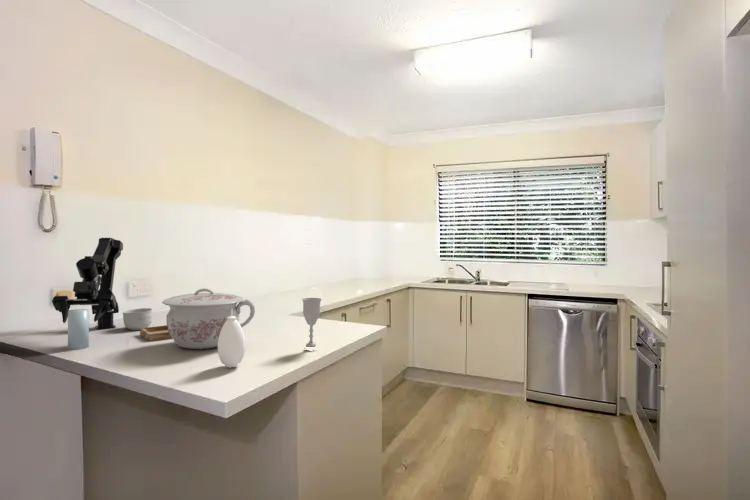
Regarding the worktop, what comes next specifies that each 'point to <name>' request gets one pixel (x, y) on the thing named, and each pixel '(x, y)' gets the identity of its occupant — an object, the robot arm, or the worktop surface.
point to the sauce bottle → (231, 342)
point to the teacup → (137, 318)
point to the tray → (155, 333)
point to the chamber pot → (202, 317)
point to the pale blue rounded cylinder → (78, 329)
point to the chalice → (311, 315)
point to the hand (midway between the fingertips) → (79, 321)
